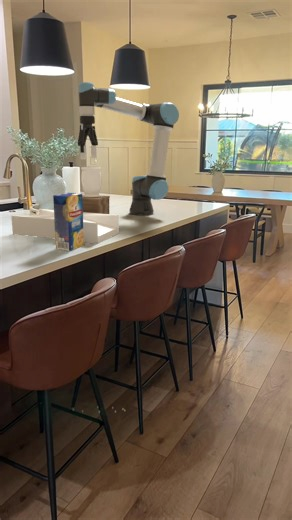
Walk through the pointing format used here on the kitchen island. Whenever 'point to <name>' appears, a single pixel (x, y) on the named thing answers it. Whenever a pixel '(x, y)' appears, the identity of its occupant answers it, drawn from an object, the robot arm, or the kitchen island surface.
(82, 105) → the robot arm
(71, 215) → the blue cardboard box
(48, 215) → the white open tray
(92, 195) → the jar
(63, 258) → the kitchen island surface
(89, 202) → the walnut block
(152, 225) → the kitchen island surface
